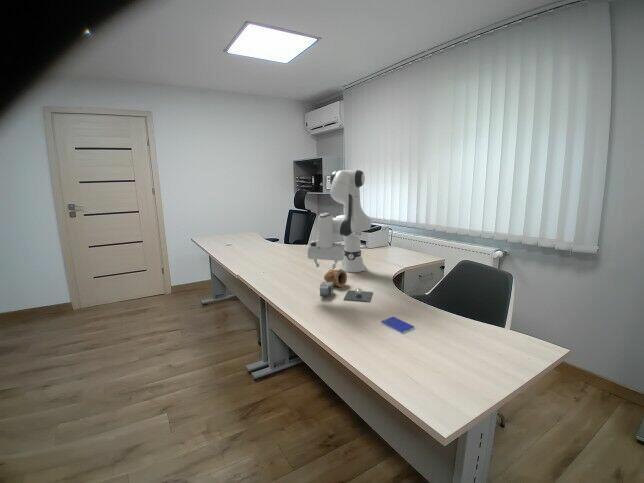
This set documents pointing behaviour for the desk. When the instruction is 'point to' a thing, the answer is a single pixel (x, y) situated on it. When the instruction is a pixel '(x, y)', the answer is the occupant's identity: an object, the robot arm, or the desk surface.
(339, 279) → the clay pipe
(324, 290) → the stepped gray block
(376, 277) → the desk surface
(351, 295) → the duct plate
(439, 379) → the desk surface
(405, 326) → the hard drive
